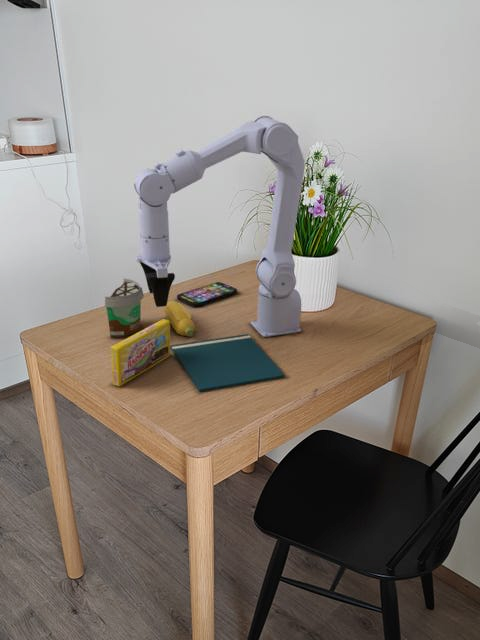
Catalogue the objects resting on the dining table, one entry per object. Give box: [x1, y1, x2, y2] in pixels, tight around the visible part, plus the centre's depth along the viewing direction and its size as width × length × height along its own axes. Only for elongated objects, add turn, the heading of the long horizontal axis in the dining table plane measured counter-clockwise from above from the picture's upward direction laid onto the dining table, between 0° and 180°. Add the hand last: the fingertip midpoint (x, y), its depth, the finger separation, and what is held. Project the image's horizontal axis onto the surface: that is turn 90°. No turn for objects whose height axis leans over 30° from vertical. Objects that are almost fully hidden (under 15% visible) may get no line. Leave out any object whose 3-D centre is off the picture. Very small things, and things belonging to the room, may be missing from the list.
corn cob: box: [163, 300, 195, 337], centre depth 144 cm, size 4×15×4 cm, turn 21°
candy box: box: [110, 318, 171, 388], centre depth 125 cm, size 16×2×8 cm, turn 148°
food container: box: [104, 278, 144, 339], centre depth 140 cm, size 12×6×10 cm, turn 168°
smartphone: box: [176, 281, 238, 308], centre depth 161 cm, size 8×1×15 cm
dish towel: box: [170, 333, 286, 393], centre depth 131 cm, size 18×20×1 cm
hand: (157, 299), depth 133 cm, fingers open, 7 cm apart
